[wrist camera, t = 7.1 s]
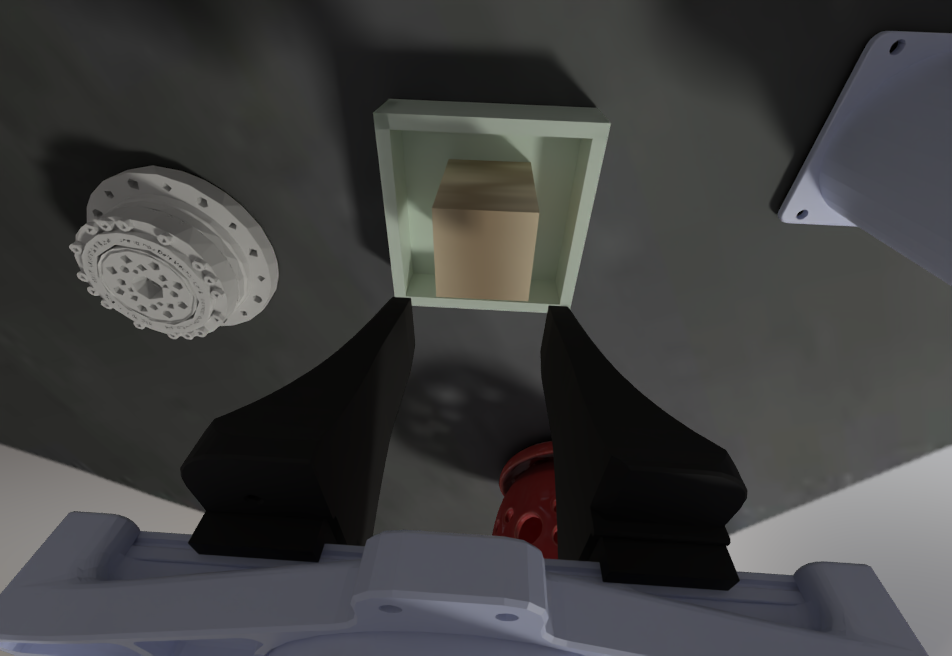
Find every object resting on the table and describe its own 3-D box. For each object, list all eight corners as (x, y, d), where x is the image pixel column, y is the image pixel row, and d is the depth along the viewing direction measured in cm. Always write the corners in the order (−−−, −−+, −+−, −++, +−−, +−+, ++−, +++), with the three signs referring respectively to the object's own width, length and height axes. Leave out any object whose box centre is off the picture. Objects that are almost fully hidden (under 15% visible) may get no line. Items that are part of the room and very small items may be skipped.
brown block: (530, 162, 20) (539, 212, 15) (523, 237, 22) (528, 301, 17) (448, 159, 20) (431, 208, 15) (450, 234, 22) (436, 296, 18)
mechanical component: (230, 152, 21) (64, 174, 22) (177, 182, 17) (-17, 206, 19) (305, 307, 27) (172, 318, 28) (277, 352, 24) (126, 361, 25)
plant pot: (471, 438, 35) (460, 597, 26) (629, 414, 32) (680, 585, 23) (510, 510, 43) (512, 653, 33) (640, 497, 40) (682, 649, 30)
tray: (597, 107, 18) (611, 123, 16) (562, 284, 25) (568, 314, 22) (389, 98, 19) (372, 112, 16) (405, 276, 25) (395, 304, 22)
